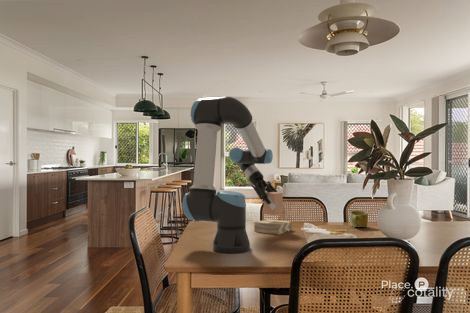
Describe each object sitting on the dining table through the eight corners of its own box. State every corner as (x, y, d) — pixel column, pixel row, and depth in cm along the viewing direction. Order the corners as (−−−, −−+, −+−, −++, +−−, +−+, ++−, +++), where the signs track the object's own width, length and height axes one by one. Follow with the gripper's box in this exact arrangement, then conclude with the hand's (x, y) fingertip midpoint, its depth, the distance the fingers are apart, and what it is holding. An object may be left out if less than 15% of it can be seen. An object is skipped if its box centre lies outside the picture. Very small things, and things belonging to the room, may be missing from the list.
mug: (353, 220, 201) (356, 205, 198) (369, 228, 194) (373, 212, 190) (341, 227, 193) (344, 211, 190) (357, 236, 186) (361, 219, 183)
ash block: (278, 235, 172) (278, 225, 172) (254, 231, 181) (254, 222, 181) (291, 230, 184) (291, 221, 184) (268, 228, 192) (268, 218, 192)
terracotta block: (274, 215, 178) (274, 193, 178) (263, 213, 182) (263, 192, 182) (282, 213, 183) (282, 192, 183) (271, 212, 188) (271, 191, 188)
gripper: (261, 179, 200) (285, 210, 189) (238, 180, 186) (262, 214, 175) (269, 170, 197) (293, 201, 186) (245, 170, 182) (271, 204, 171)
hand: (278, 207), depth 180 cm, fingers closed on terracotta block, 7 cm apart
